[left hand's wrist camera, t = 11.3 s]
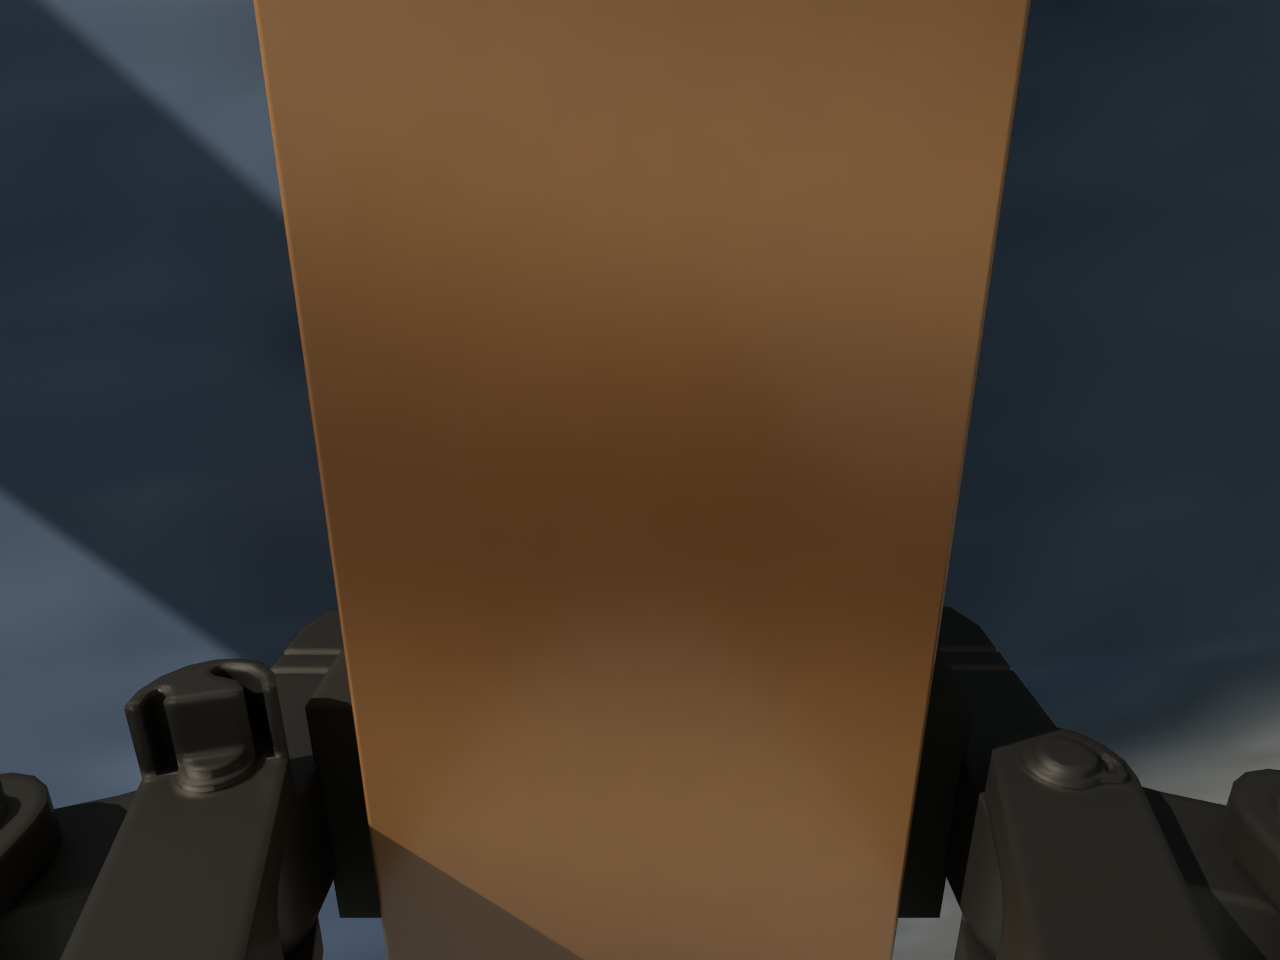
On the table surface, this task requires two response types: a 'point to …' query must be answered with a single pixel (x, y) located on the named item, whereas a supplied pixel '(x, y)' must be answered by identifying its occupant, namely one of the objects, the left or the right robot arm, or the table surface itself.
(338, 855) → the left robot arm
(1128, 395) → the table surface
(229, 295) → the table surface
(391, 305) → the post
